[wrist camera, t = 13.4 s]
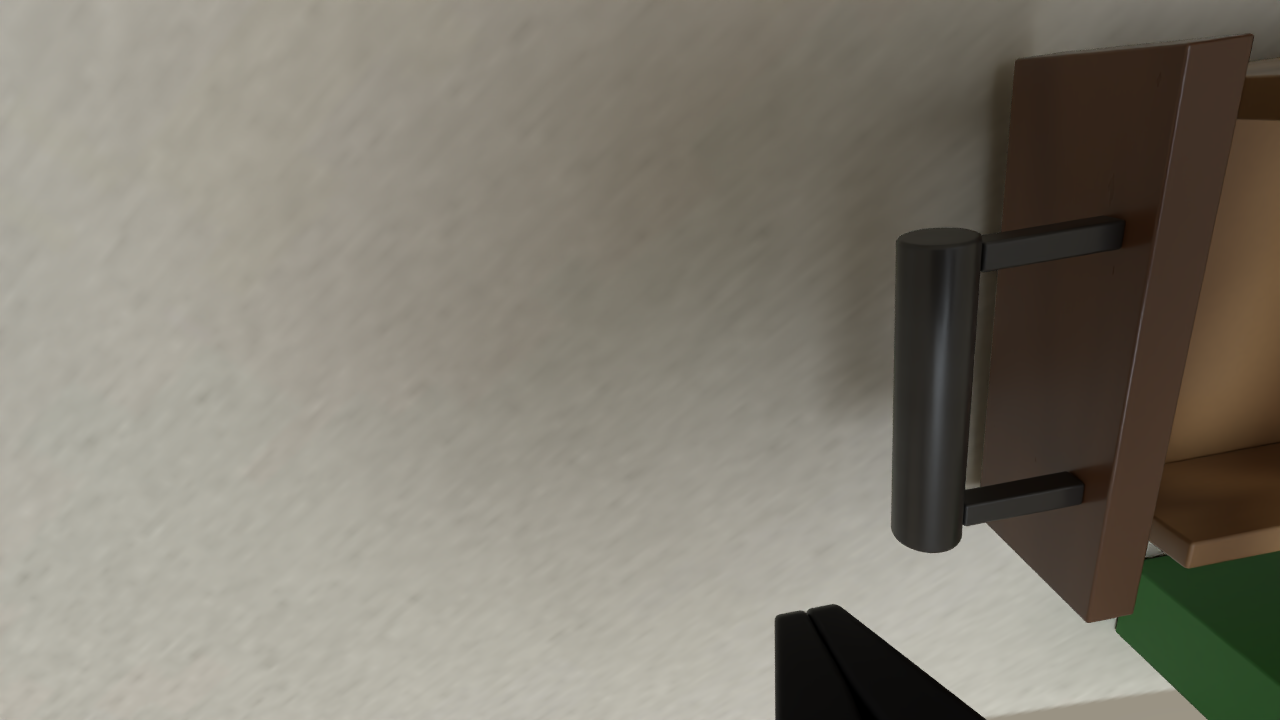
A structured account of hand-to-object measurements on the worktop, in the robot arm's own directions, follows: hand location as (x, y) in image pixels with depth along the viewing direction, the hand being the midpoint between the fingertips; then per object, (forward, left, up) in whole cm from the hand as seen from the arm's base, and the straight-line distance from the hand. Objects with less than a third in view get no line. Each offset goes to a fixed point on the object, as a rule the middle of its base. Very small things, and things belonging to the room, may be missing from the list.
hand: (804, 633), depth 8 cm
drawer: (+7, +12, -9) cm, 16 cm away
